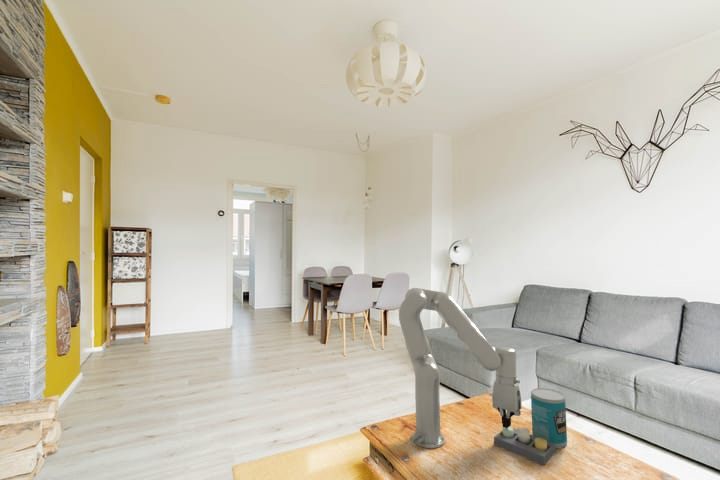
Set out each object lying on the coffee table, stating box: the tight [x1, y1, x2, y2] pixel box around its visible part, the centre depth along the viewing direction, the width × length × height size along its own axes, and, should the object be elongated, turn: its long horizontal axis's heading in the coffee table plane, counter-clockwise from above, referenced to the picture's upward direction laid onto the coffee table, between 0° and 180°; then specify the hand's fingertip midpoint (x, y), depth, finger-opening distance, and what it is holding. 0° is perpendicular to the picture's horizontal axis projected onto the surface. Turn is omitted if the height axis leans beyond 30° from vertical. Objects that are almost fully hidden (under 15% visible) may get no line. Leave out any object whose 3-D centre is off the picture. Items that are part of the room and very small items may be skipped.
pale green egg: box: [502, 426, 515, 439], centre depth 135 cm, size 4×4×4 cm
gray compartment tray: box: [493, 427, 557, 466], centre depth 130 cm, size 12×18×3 cm, turn 43°
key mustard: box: [535, 438, 547, 452], centre depth 126 cm, size 4×4×4 cm
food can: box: [530, 387, 568, 449], centre depth 136 cm, size 12×12×18 cm
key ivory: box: [517, 426, 531, 444], centre depth 130 cm, size 4×4×4 cm
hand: (506, 426), depth 135 cm, fingers closed
